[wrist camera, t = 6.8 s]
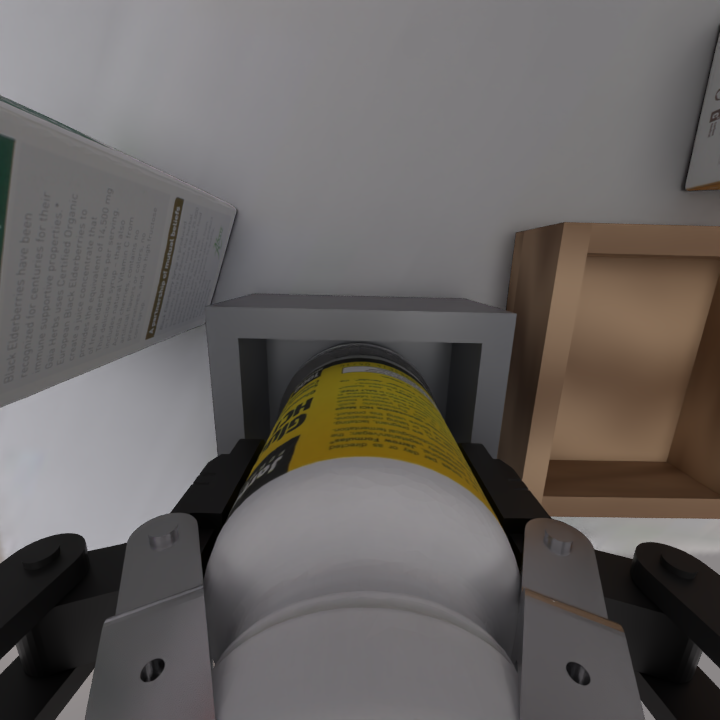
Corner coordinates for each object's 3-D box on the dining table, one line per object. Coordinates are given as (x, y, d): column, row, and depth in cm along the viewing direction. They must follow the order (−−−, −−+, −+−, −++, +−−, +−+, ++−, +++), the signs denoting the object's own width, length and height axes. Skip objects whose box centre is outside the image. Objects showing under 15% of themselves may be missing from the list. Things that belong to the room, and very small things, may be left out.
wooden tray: (516, 232, 16) (564, 222, 12) (732, 238, 16) (845, 229, 12) (485, 467, 19) (516, 516, 15) (667, 470, 19) (741, 519, 15)
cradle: (253, 293, 16) (204, 306, 11) (465, 298, 17) (516, 313, 11) (263, 480, 19) (227, 563, 14) (447, 482, 19) (481, 566, 14)
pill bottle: (300, 334, 13) (83, 599, 3) (453, 370, 14) (775, 722, 3) (272, 472, 15) (64, 982, 4) (411, 501, 15) (532, 1029, 5)
